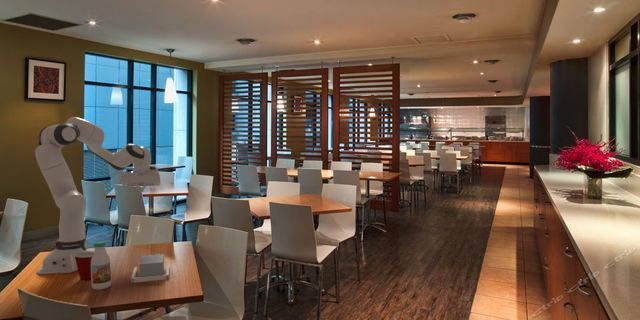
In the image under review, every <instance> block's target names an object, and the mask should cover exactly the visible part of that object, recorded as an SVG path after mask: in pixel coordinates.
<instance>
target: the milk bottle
mask: <svg viewBox="0 0 640 320" xmlns="http://www.w3.org/2000/svg"><path fill="white" fill-rule="evenodd" d="M93 249H94V250H93V252H94V254H93V256H92V259H91V279H90V281H91V289H92V290H95V291H96V290H104V289H105V290H106V289H107V288H110V287H111V285H112V276H111V274H112V273H111V258H110V256H109V254H108V252H107V249H106V241H103V240H102V241H101V240H99V241H95V242H94V243H93Z"/></svg>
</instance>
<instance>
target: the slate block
mask: <svg viewBox="0 0 640 320" xmlns="http://www.w3.org/2000/svg"><path fill="white" fill-rule="evenodd" d="M156 275H165V254H164V253H162V254H160V253H159V254H150V255H149V254H148V255H141V258H140V262H139V277H145V276H156Z"/></svg>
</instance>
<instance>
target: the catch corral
mask: <svg viewBox="0 0 640 320" xmlns="http://www.w3.org/2000/svg"><path fill="white" fill-rule="evenodd" d="M137 274H138V267H137V266H135V267H134V268H133V272H132V275H131V278H130V279H131V280H130V282H131V284H133V283H143V282H153V281H162V280H169V279H170V263H168V264H166V274H164V275H156V276H145V277H140V276H137ZM136 276H137V277H136Z"/></svg>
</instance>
